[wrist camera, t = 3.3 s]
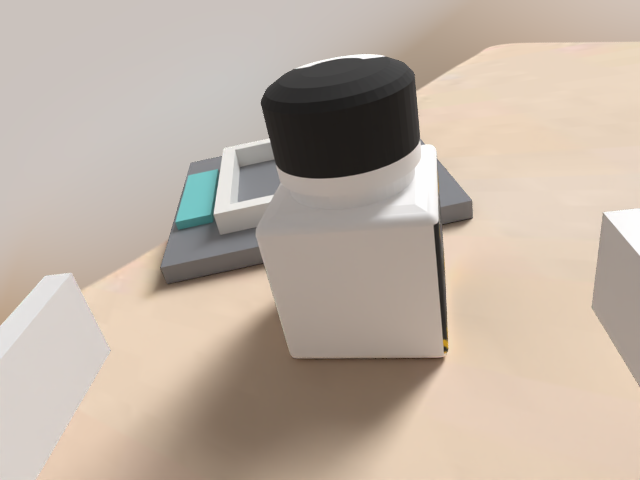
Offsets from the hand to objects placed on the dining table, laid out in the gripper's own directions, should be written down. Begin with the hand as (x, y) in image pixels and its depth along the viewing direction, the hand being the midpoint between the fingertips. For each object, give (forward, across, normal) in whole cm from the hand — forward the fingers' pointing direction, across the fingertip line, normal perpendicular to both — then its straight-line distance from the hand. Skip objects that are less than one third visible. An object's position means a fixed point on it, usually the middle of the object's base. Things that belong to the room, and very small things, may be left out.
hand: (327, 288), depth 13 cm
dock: (+24, -4, -9) cm, 26 cm away
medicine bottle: (+10, 0, -9) cm, 13 cm away
